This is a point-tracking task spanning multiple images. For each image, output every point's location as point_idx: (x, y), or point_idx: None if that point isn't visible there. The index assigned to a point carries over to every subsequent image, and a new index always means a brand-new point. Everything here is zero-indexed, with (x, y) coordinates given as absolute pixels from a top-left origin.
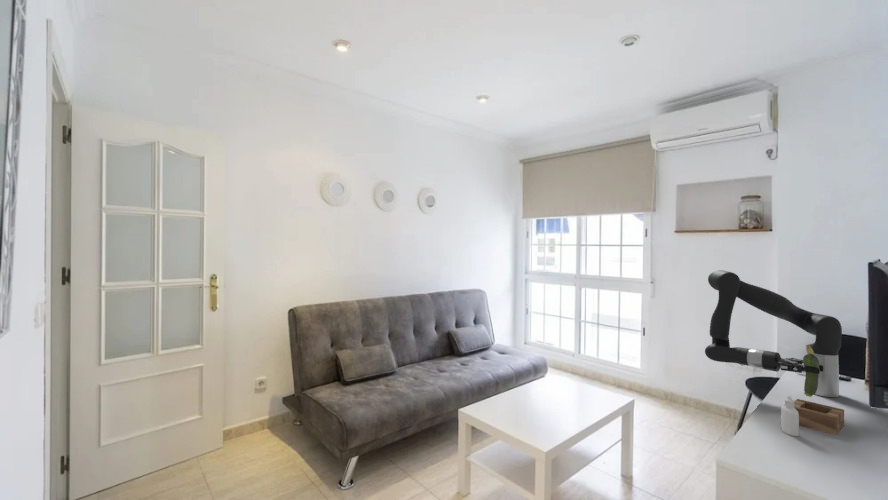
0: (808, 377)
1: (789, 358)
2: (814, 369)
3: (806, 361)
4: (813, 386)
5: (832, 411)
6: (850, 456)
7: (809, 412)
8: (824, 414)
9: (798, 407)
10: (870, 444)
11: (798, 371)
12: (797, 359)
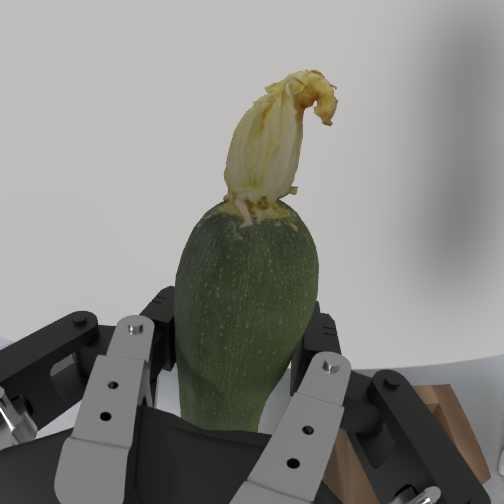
0: (256, 422)
1: (93, 464)
2: (334, 325)
3: (313, 304)
4: None
5: None
6: (490, 381)
7: (470, 430)
8: (452, 404)
9: (469, 459)
10: (407, 377)
11: (383, 428)
12: (11, 365)
